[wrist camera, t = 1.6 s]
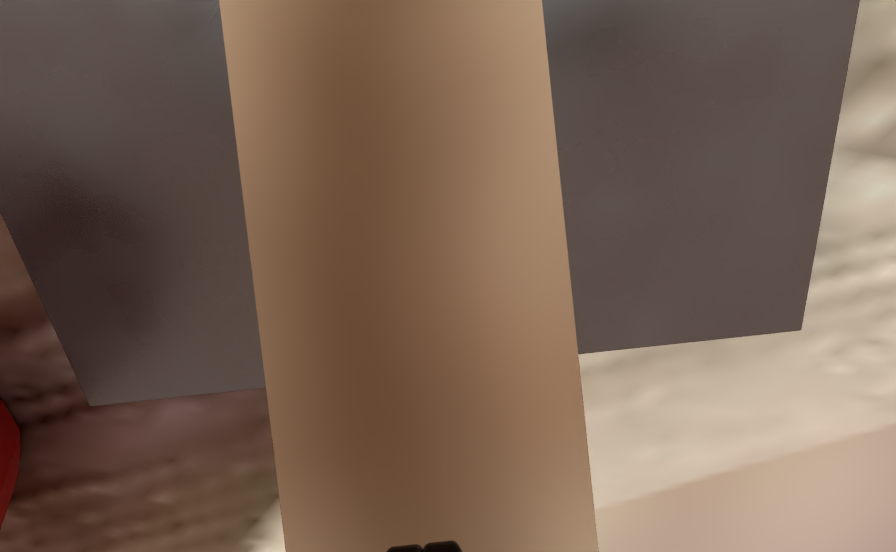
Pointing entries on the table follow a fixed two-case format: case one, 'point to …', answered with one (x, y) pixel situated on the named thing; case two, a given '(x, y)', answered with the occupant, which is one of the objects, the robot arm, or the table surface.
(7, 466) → the plastic cup
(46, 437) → the table surface
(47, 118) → the mounting plate
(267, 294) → the lever
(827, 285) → the table surface
